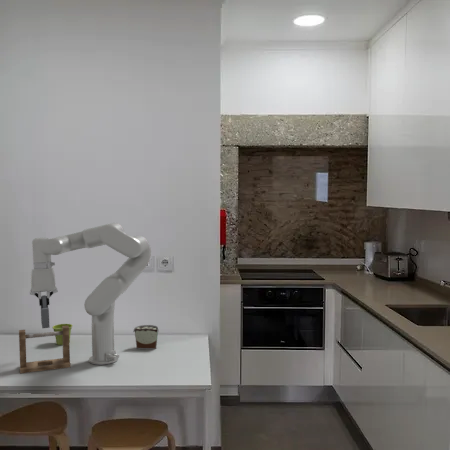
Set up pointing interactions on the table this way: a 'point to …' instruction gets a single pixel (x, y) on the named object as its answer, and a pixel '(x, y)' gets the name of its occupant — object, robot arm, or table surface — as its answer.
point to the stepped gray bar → (45, 314)
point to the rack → (36, 365)
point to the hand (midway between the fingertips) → (44, 306)
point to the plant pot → (59, 328)
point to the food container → (146, 336)
